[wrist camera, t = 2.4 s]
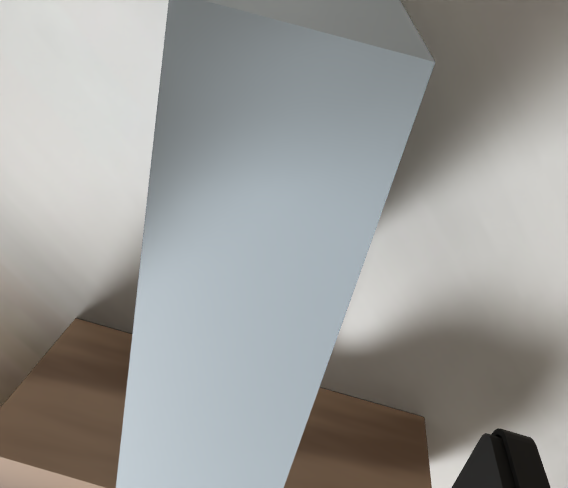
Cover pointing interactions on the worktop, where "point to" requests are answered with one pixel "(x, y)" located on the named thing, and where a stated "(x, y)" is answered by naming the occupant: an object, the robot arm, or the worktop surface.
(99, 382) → the walnut crosspiece
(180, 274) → the pale blue tall box
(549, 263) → the worktop surface
